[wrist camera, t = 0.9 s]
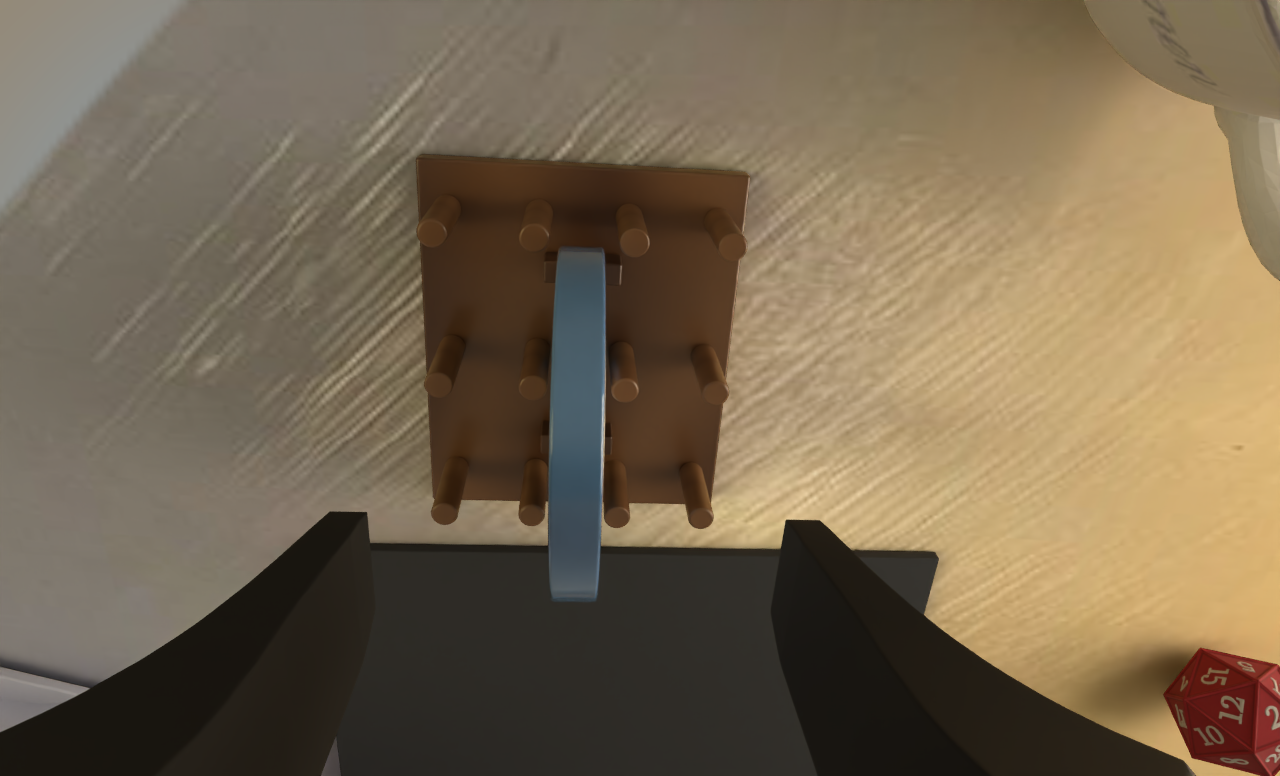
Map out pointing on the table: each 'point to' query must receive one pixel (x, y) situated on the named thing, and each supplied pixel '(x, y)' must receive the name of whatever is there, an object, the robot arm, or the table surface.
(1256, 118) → the teacup
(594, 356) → the plate
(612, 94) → the table surface
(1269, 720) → the dice
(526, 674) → the placemat
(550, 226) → the rack
